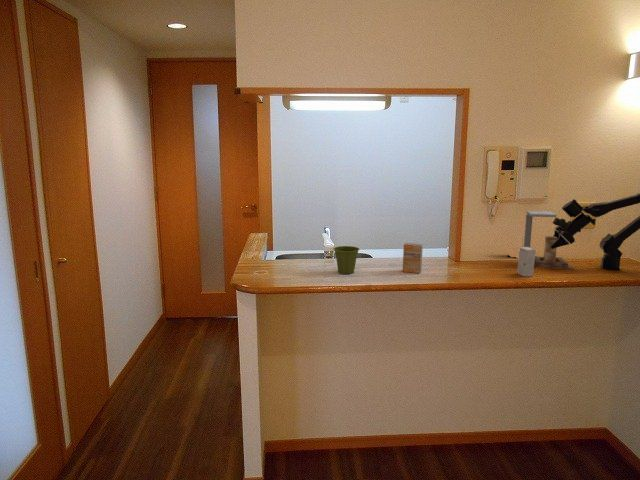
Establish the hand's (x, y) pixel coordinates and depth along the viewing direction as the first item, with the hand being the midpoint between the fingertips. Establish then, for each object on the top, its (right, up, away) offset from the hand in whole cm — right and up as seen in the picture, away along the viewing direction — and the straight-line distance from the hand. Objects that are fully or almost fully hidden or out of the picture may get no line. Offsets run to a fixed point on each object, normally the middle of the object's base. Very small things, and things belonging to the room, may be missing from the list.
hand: (549, 246), depth 218 cm
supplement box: (-68, -12, -10) cm, 70 cm away
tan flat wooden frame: (+1, -9, +2) cm, 9 cm away
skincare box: (-19, -13, -16) cm, 28 cm away
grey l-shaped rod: (-5, -9, +3) cm, 11 cm away
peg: (0, -8, +1) cm, 9 cm away
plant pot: (-99, -12, -10) cm, 100 cm away
